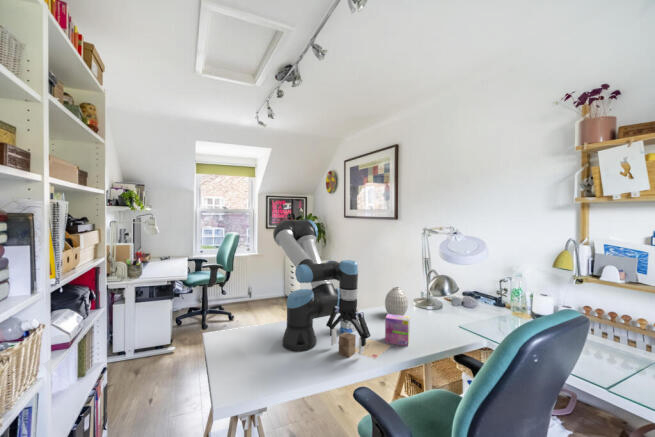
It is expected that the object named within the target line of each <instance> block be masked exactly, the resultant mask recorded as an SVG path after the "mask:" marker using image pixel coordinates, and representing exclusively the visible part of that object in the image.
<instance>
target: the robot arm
mask: <svg viewBox="0 0 655 437" xmlns="http://www.w3.org/2000/svg"><path fill="white" fill-rule="evenodd" d="M318 231H319V229H318V227H317V225H316V223H315V221H313V220H310V219H285V220H282V221H280V222H278V223H277V224H276V225H275V227H274V229H273V233H272V234H273V240H274V242H275V243H276V245H277V246H279V247H281V248H282V250H283V252H284V253H285V254H286V256H287V257H288V259H289V260H290V261H291V263H292V264H293V266H294V267H295V271H294V272H295V274H294V275H295V278H296V281H297V282H298V283H300V284H303V283H304V284H310V286H311V289H309V288H303V289H302V288H301V289H296V290H292V292H290V293H289V294H288V296H287V300H286V328H285V329H284V333H283V337H282V346H283V348H285V349H286V350H288V351H292V352H293V351H294V352H305V351H308V350H312V349H314V348H315V347H316V346H317V336H316V334H315V330H314V319H319V318H324V317H325V318H326V317H329V318H328V321H327V322H326V327H328V328H329V335H330V337H331V338H330V339H331V340H330V342H331V343H330V345H332V346H334V345H335V344H336V343H337V332H338V330H337V327H336V326H337V325H338V324H339V323H340V321H341V320H342V319H343V320H347V321H349V322H350V321H351V323H352V324H353V325H354V327H355V328H356V330H357V331H356V332H357V333H358V335H359V339H358V347H359V353H358V355H362V353H363V352H364V346H365V345H366V341H367V339H369V338H370V337H371V333H370V330H369V328H368V325H367V322H366V319H365V316H364V315H365V313H364V312H362V311H361V312H359V313H358V312H357V310H356V309H357V307H358V299H357V298H358V281H359V279H358V278H359V269H358V268H359V267H358V262H357V261H355V260H351V259H344V260H341V261H340V262H339V261H336V260H328V261H326V262H322V260H321V256H320V253H319V250H318V247H317V244H316V243H317V238H318V236H319V232H318ZM331 280H335V281H338V282H339V286H338V287H339V288H335V286H334V285H335V284H333V282H332V281H331ZM330 281H331V282H330ZM338 314H339V316H337V315H338ZM336 316H337V318H336ZM356 316H357V317H356ZM335 318H336V319H335ZM357 318H358V319H359V320H358V319H357Z"/></svg>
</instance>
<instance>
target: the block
mask: <svg viewBox="0 0 655 437" xmlns="http://www.w3.org/2000/svg"><path fill="white" fill-rule="evenodd" d="M356 337H357V336H356V334H353V333H347V332H345V333H341V334H339V335H338V355H340V356H342V357H345V358H348V359H350V358H351V357H352V356H353V355H355V354H356V352H355V349H356V339H357V338H356Z"/></svg>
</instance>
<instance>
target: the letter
mask: <svg viewBox="0 0 655 437" xmlns="http://www.w3.org/2000/svg"><path fill="white" fill-rule="evenodd" d="M390 347H391V345H389V344H388V343H385V342H384V343H383V342H380V341H377V340H374V339H370V338H367V339H366V345H365V346H364V352H363V353H362V354H361V355H363V356H366V357H368V358H370V359H371V358H372V359H373V360H376V359H377V358H379V357H380V356H382V354H384V352H386V351H387V350H388V349H389V348H390ZM355 353H357V354H359V346H357V347H355Z"/></svg>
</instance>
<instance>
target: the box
mask: <svg viewBox="0 0 655 437" xmlns="http://www.w3.org/2000/svg"><path fill="white" fill-rule="evenodd" d="M410 321H411V316H408V315H407V316H406V315H403V316H400V315H392V314H388V313H387V314H386V316H385V321H384V322H385V324H384V325H385V327H384V328H385V331H384V343H385V344H393V345H399V346H405V347H409V343H410V331H411V330H410V327H411V326H410V325H411V324H410Z"/></svg>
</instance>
